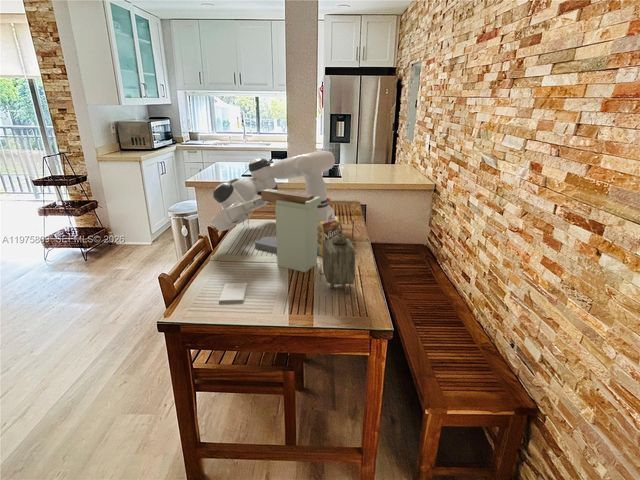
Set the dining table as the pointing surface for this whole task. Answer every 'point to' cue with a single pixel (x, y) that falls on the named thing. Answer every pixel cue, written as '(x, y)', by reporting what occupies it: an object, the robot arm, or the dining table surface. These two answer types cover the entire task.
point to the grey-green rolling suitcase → (339, 260)
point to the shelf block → (297, 234)
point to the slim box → (284, 196)
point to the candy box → (326, 232)
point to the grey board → (267, 244)
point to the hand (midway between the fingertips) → (261, 200)
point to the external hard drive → (233, 293)
